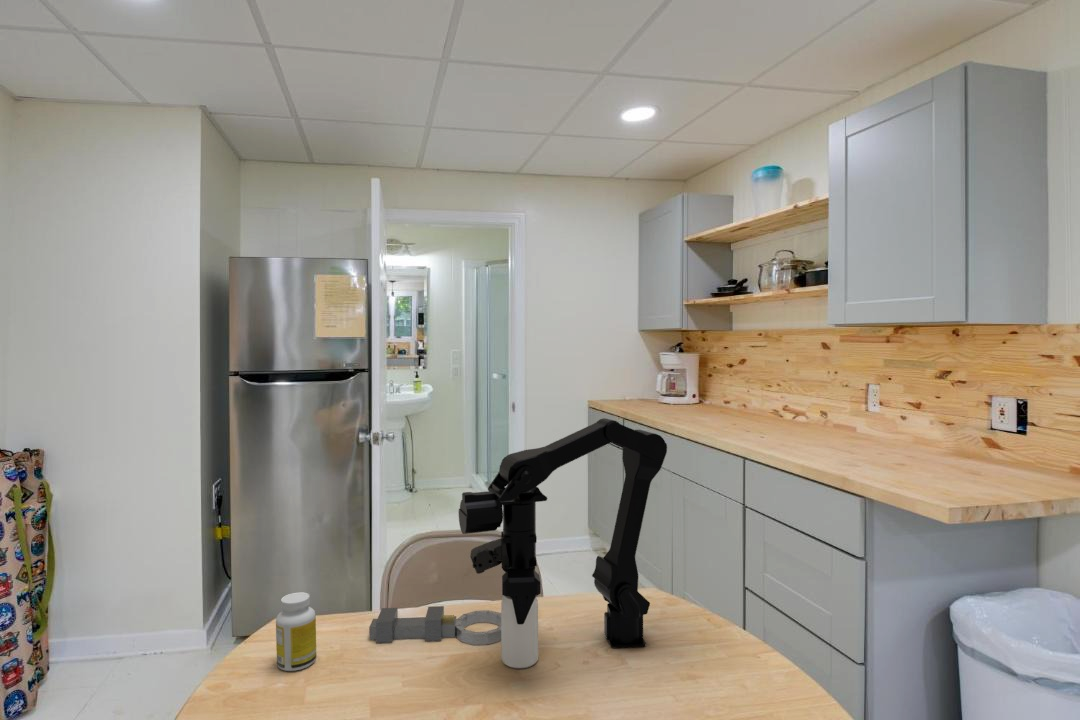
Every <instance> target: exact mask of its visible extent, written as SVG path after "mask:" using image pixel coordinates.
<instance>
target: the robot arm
mask: <svg viewBox="0 0 1080 720" xmlns="http://www.w3.org/2000/svg"><path fill="white" fill-rule="evenodd" d="M608 444H613V445H615V446H617V447H620V448H622V456H621V457H622V464H623V468H624V469H623V470H624V474H625V477H624V481H623V486H622V492H621V496H620V499H619V504H618V509H617V514H616V520H615V525H614V529H613V534H612V538H611V542H610V547H609V550H608V551H607V552H606V554H605V555H604V556H600V555H598V556H596V559H595V567H594V571H593V572H592V574H591V577H592V578H593V579H594V580H593V581H594V582H593V583H594V587H595V588H596V590H597V592H599V594H601V595H602V598H603V600H604V601H605V602H607V605H606V607H607V608H606V610H607V611H605V612H604V618H603V620H604V622H603V626H604V628H603V631H604V636H605V639H606V640H607V641H608V643H609V645H610V648H613V649H614V648H617V649H618V648H639V647H640V648H641V647H642V648H644V647H646V643H647V642H646V641H645V639H644V615H647V614H648V612H649V609H650V604H651V603H650V601H649V600H648V599H646V597H644V596H643V595H642V594H641V593H640V592H639V589H638V588H639V571H638V565H637V560H636V554H637V549H638V545H639V541H640V536H641V530H642V526H643V522H644V515H645V511H646V505H647V501H648V497H649V493H650V488H651V487H650V486H651V483H652V481H653V480H654V478H655V477H656V476H657V475H658V473H659V472H660V471H661V470H662V467H663V464H664V463H665V462H664V461H665V459H666V455H667V453H668V445H667V443H666V440H664V438H663V437H662V436H661V435H660V434H657V433H654V432H651V431H647V430H642V429H633V428H630V427H628V426H625V425H624V424H621V423H620V422H618V421H617V420H614V419H610V418H607V417H606V418H605V417H604V418H600V419H599V420H598V421H596V422H594V423H593V424H590V425H588V426H585V427H584V428H582V429H580V430H579V429H578V430H577V431H575V432H572V433H571V434H568V435H566V436H564V437H562V438H560V439H558V440H555V441H553V442H551V443H549V444H546V445H545V446H542V447H538V448H537V447H536V448H529V449H523V450H520V451H517V452H513V453H509V454H507V455H506V456H505V457H503V459H501V462H500V464H499V469H498V470H499V471H498V472H497V474H496V475H495V477H494V478H493V480H492V482H491V483H490V484H489V485H488V488H487V491H479V492H472V491H467V492H465V491H464V492H462V494H461V497H462V498H461V500H460V505H459V508H458V521H459V529H460V532H461V533H462V535H468V534H477V533H487V532H495V531H497V530H498V528H501V527H502V531H500V532H501V534H500V536H501V538H498V539H495V540H490V541H488V542H486V543H483V544H481V545H478V546H475V547H473V548H472V549H471V550H470V555H469V558H470V560H471V563H472V568H474V570H475V573H476V574H477V575H480V574H483V573H485V571H487V570H489V569H492V568H494V567H495V568H496V567H497V566H499V565H501V569H502V571H504V573H503V574H502V575H501V583H502V584H501V585H502V587H501V590H502V593H501V596H503V597H504V596H510V597H511V598H512V602H513V606H514V611H515V616H516V620H517V624H524V622H525V620H526V617H527V615H528V613H529V610H530V608H531V606H532V604H533V601H534V599H535V597H536V598H537V596H539V595H541V588H542V587H541V586H542V585H541V578H540V574H539V573H538V572H536V567H537V566H538V564H537V561H538V560H537V556H536V555H537V551H536V549H537V544H536V543H537V533H536V532H537V531H536V530H537V528H536V526H537V525H536V524H537V523H536V520H537V519H536V518H537V516H536V515H537V514H536V513H537V512H536V511H537V510H536V509H537V508H536V504H537V503H538V502H540V503H541V502H547V501H548V496H546V495H544V493H543V492H542V491H541V490H540V488H539V487H538V486H539V485H540V484H542V483H544V482H545V481H546V480H547V479H548V478H549V477H550V476H551V474H552V473H553V472H555V470H558V469H559V468H561V467H563V466H565V465H567V464H569V463H571V462H573V461H575V460H578V459H579V458H582V457H584V456H586V455H588V454H589V453H592V452H594V451H597V450H598V449H600V448H603V447H604V446H606V445H608Z"/></svg>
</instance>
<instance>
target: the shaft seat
mask: <svg viewBox="0 0 1080 720" xmlns="http://www.w3.org/2000/svg"><path fill="white" fill-rule="evenodd" d="M398 609H399V608H398V607H382V608H381V610H380V612H379V615H378V617H377V618H372V620H371V623H370V624H369V626H368V628H369V630H368V634H369V636H368V637H369V641H375V644H391V643H392V642H394V640H395V641H396V640H416V639H417V640H419V639H420V640H421V639H424V642H426V643H429V642H442V639H444V638H445V639H446V638H447V639H448V638H449V639H450V638H456V639H458V640H459V641H460V642H461V643H462V644H463V643H464V644H468V645H472V646H480V645H481V646H485V645H491V644H494V643H498V642H501V612H499V611H493V610H490V609H489V610H487V609H486V610H474V611H469V612H466V613H463V614H462V615H460V616H458V617H457V616H456V615H455V614H445V607H444V605H441V606H439V605H437V606H427V611H426V615H425V616H424V617H423V616H422V617H421V616H420V617H419V616H418V617H417V616H416V617H399V613H398V612H399V611H398ZM477 623H481V624H482V623H487V624H488V623H489V624H493V625H497V626H498V627H496V628H494V629H491V630H488V631H487V630H486V631H474V630H473V631H472V630H470V629H466V627H468V626H470V625H471V626H472V625H474V624H477ZM387 642H388V643H387ZM390 642H391V643H390Z"/></svg>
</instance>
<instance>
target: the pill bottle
mask: <svg viewBox="0 0 1080 720" xmlns="http://www.w3.org/2000/svg"><path fill="white" fill-rule="evenodd" d="M280 599H281V600H280V608H281V610H282V611H280V612H279V613H278V614H277V615H276V618H275V638H276V639H275V641H276V643H275V644H276V665H277V667H278V668H279V669H280V670H282V671H286V672H295V671H301V670H303V669H306V668H308V667H310V666H311V665H313V664H314V662H315V661H316V659H317V627H316V626H317V624H316V623H317V622H316V621H317V617H316V611H315V610H314V609H313V608H312V607H311V606H309V605H311V604H310V603H311V597H310V593H307V592H303V591H302V592H301V591H300V592H292V593H289V594H286V595H284V596H283V597H282V598H280Z"/></svg>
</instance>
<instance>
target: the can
mask: <svg viewBox="0 0 1080 720" xmlns="http://www.w3.org/2000/svg"><path fill="white" fill-rule="evenodd" d="M500 605H501V606H500V607H501V610H500V613H501V641H500V643H501V644H500V645H501V662H502V663H503V665H505V666H506V667H508V668H510V669H514V670H523V669H528V668H531V667H533V666H534V665H536V663H537V662H538V660H539V602H538V599H537V596H536V597H535V599H534V601H533V604H532V606H531V608H530V610H529V613H528V615H527V617H526V620H525V622H524V624H517V620H516V616H515V611H514V606H513V602H512V598H511V597H510V596H504V595H503V597H502V600H501V603H500Z"/></svg>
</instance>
